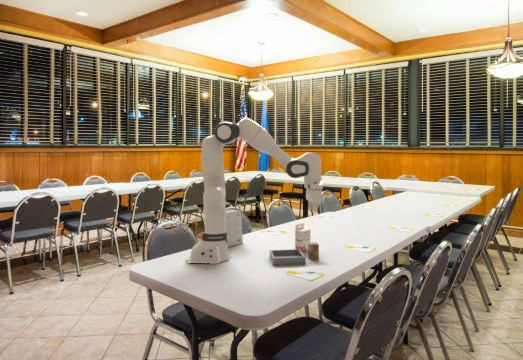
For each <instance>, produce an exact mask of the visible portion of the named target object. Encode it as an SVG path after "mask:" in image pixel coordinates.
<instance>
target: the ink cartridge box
mask: <svg viewBox="0 0 523 360" xmlns="http://www.w3.org/2000/svg"><path fill="white" fill-rule="evenodd" d="M294 235H295V238H294V239H295V240H294V242H295V243H294V245H295V247H294V249H300V250H301V252H302V253H304V252H307V251H308V243H311V228H305V223H304V222H302V223H299V224H295V230H294Z"/></svg>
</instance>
